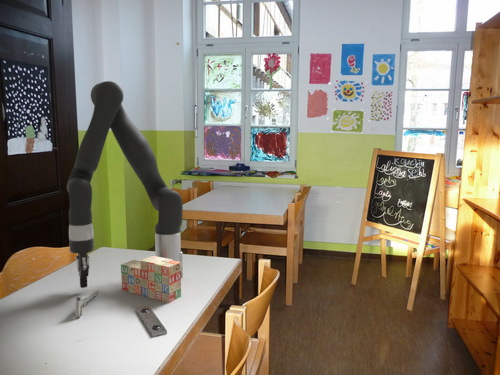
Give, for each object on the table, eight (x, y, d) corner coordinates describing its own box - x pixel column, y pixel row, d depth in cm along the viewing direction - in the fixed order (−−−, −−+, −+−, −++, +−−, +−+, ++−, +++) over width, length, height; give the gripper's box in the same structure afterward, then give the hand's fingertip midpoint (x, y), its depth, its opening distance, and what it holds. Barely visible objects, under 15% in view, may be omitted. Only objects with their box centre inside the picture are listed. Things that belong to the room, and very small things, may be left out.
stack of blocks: (121, 290, 141) (120, 255, 139) (134, 284, 146) (133, 251, 145) (169, 303, 130) (168, 266, 129) (181, 296, 136) (181, 261, 134)
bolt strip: (149, 308, 126) (148, 305, 126) (167, 333, 111) (166, 330, 111) (136, 310, 125) (135, 307, 124) (152, 336, 109) (152, 333, 109)
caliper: (79, 319, 119) (78, 298, 118) (75, 319, 119) (74, 298, 118) (99, 291, 139) (99, 274, 139) (96, 292, 139) (95, 274, 138)
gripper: (96, 240, 131) (98, 291, 134) (90, 231, 143) (92, 278, 145) (71, 243, 128) (73, 295, 130) (67, 233, 139) (69, 282, 142)
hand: (83, 286), depth 138 cm, fingers closed
